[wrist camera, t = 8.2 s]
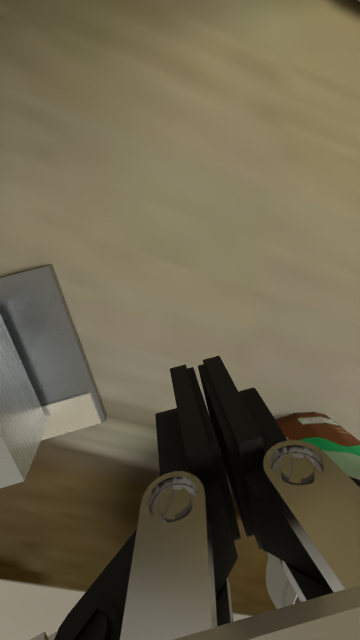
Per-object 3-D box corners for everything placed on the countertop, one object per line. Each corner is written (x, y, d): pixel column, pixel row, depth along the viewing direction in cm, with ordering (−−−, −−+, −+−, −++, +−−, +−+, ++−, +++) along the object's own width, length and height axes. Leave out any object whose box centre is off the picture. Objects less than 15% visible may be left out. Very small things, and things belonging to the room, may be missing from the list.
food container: (269, 376, 24) (359, 477, 15) (335, 399, 26) (454, 504, 16) (202, 503, 27) (241, 658, 17) (265, 517, 28) (333, 667, 19)
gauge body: (-101, 302, 19) (-145, 318, 16) (51, 264, 20) (37, 272, 16) (-21, 451, 22) (-44, 487, 19) (106, 414, 23) (103, 444, 20)
